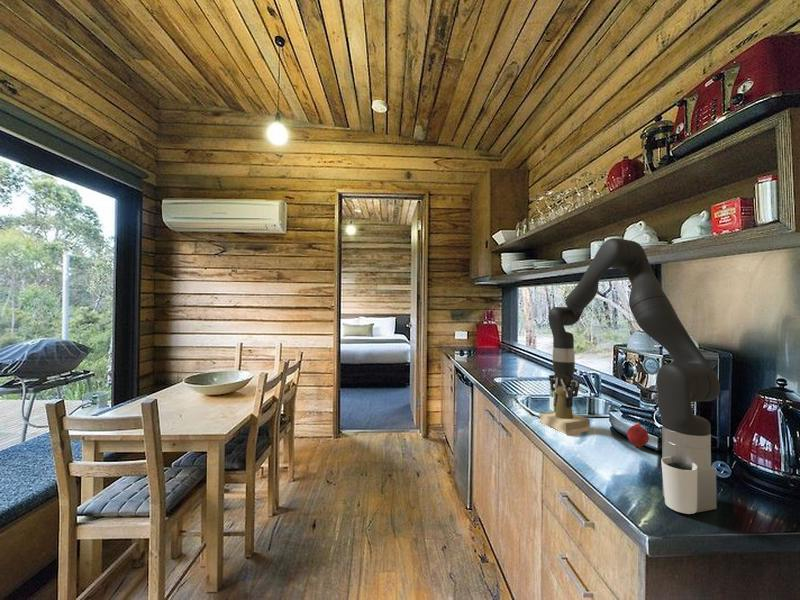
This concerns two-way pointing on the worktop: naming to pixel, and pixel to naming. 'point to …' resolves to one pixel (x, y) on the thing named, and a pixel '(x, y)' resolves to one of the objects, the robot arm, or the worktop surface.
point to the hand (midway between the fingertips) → (563, 405)
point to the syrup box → (552, 400)
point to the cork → (562, 405)
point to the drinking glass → (680, 486)
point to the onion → (637, 435)
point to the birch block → (565, 423)
